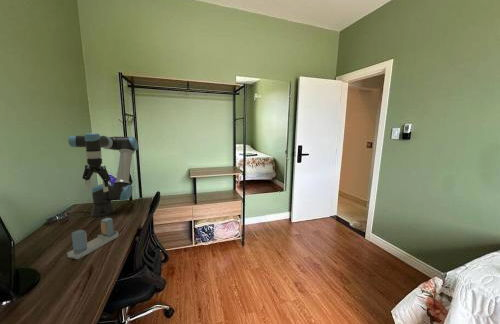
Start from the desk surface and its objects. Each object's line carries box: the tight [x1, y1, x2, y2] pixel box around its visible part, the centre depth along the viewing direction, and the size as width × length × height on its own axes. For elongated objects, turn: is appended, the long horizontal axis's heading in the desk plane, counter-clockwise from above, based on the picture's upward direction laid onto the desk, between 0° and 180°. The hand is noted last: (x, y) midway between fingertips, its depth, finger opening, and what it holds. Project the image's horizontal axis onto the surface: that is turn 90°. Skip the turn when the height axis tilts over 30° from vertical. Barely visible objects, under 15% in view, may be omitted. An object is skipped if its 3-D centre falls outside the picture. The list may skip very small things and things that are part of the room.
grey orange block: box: [100, 217, 114, 237], centre depth 123 cm, size 5×4×10 cm
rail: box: [66, 229, 119, 260], centre depth 116 cm, size 24×7×12 cm, turn 166°
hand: (97, 190), depth 132 cm, fingers open, 13 cm apart
